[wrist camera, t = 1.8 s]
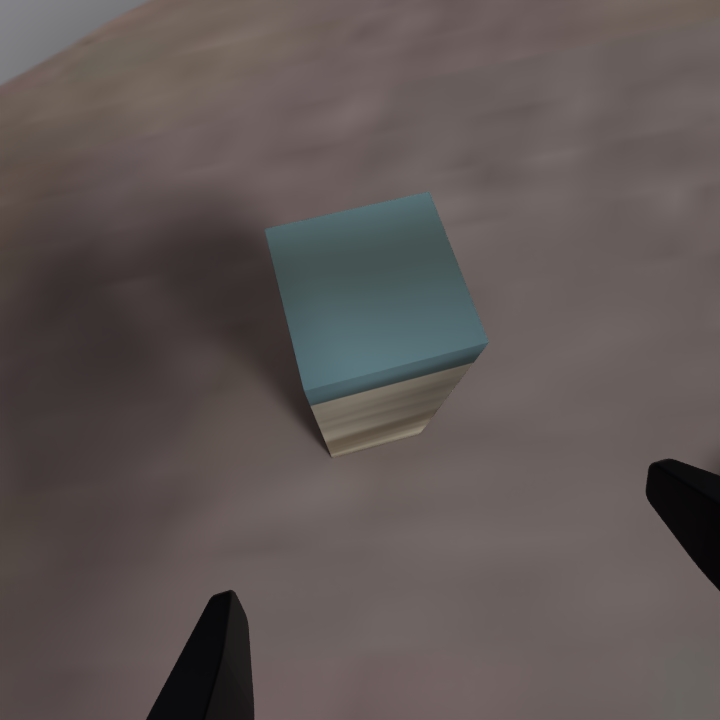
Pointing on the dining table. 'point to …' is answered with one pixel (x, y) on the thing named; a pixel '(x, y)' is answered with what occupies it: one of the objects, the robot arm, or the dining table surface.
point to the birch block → (375, 318)
